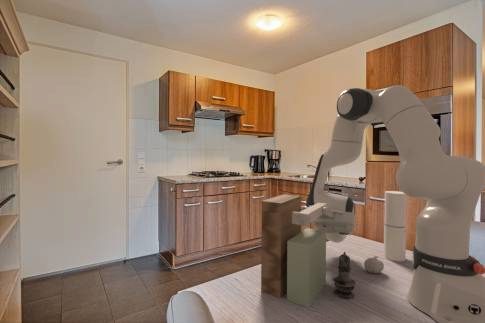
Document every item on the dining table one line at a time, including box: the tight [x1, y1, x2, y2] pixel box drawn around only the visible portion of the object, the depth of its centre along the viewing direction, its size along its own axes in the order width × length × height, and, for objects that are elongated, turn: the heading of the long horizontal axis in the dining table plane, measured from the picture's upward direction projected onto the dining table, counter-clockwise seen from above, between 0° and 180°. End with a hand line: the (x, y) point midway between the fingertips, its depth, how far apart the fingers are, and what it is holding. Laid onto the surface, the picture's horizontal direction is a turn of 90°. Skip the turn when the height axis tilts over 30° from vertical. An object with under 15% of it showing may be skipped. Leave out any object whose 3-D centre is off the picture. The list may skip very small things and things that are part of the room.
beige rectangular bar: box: [292, 203, 327, 227], centre depth 79 cm, size 5×20×3 cm, turn 146°
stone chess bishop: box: [332, 251, 356, 300], centre depth 73 cm, size 6×6×12 cm
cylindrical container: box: [383, 190, 408, 262], centre depth 99 cm, size 7×7×25 cm
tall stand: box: [260, 194, 302, 298], centre depth 79 cm, size 6×15×26 cm, turn 146°
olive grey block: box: [286, 227, 327, 308], centre depth 74 cm, size 6×15×16 cm, turn 146°
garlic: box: [363, 255, 385, 274], centre depth 87 cm, size 6×5×5 cm
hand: (317, 208), depth 83 cm, fingers closed on beige rectangular bar, 3 cm apart
